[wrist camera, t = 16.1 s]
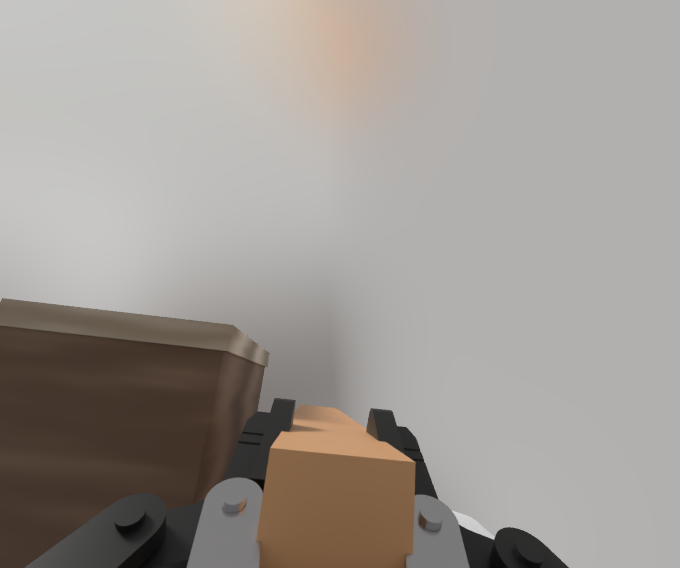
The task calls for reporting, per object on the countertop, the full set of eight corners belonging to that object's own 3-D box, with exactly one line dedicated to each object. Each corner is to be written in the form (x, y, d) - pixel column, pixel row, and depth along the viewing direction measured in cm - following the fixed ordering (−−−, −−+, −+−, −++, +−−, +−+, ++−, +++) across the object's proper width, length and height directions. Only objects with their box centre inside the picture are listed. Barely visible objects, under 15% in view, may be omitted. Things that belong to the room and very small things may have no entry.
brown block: (410, 650, 6) (415, 461, 7) (240, 638, 6) (270, 447, 7) (332, 447, 27) (336, 408, 28) (295, 443, 27) (300, 404, 27)
